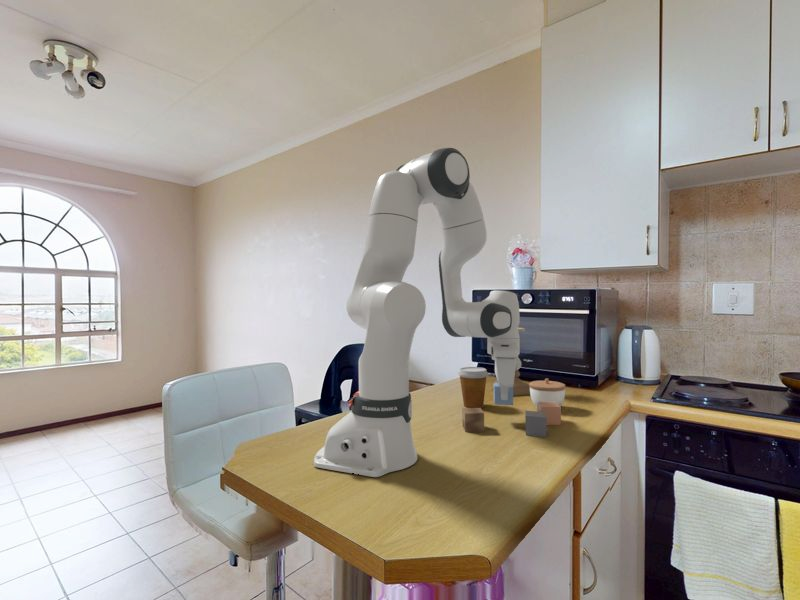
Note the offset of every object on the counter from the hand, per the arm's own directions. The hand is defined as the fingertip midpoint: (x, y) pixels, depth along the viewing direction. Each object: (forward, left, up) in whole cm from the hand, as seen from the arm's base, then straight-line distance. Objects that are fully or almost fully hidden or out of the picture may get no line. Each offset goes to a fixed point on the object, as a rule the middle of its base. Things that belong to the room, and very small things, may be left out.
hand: (503, 396), depth 109 cm
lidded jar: (+15, +16, -7) cm, 23 cm away
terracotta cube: (+13, +2, -7) cm, 15 cm away
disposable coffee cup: (-8, +16, -7) cm, 20 cm away
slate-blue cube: (0, 0, -2) cm, 2 cm away
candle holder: (+6, +37, -7) cm, 38 cm away
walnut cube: (-8, -7, -7) cm, 13 cm away
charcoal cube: (+8, -8, -7) cm, 13 cm away
